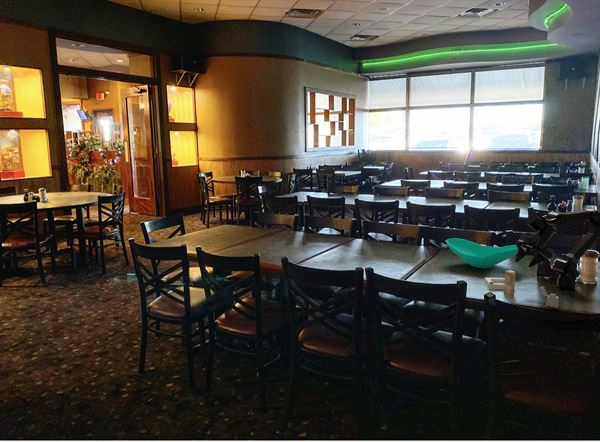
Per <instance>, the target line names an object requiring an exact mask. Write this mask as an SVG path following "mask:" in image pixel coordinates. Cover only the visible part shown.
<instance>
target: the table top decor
mask: <svg viewBox="0 0 600 442" xmlns="http://www.w3.org/2000/svg"><path fill="white" fill-rule="evenodd" d="M445 242H446V245H447V247H448V248H449V249H450V250H451V251H452V252H453V253H454V254H455V255H456V256H458V257H459V258H460V259H461V260H462V261H464V262H465V263H466V264H468V265H469V266H471V267H474V268H477V269H478V268H479V269H490V268H492V267H494V266H496V265H498V264H500V263H503V262H505V261H507V260H508V259H510V258H512V257H514V256H517V252H518V249H517V247H516V244H514V245H512V244H511V245H505V246H500V247H498V246H492V245H482V244H479V243H476V242H473V241H472V240H468V239H463V238H457V237H453V238H452V237H451V238H448V239H446V240H445Z"/></svg>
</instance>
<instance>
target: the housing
mask: <svg viewBox="0 0 600 442" xmlns="http://www.w3.org/2000/svg"><path fill="white" fill-rule="evenodd" d="M504 280H505V277H484V283H485V285H486V284H487V285H486V287H487V288H488V287H489V288H488V290H493V289H503V290H502V291H504Z"/></svg>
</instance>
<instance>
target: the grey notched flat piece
mask: <svg viewBox="0 0 600 442" xmlns="http://www.w3.org/2000/svg"><path fill="white" fill-rule="evenodd" d="M539 289H540V292H541V294H542V297H545V298H546V305H545V306H546V307H549V306H550V308H554V307H555V309H558V308H559V299H560V297H559V296H557V295H556V294H555V293H550V294H548V292H547V290H546V287H545V286H544V285H542V286H540V287H539Z"/></svg>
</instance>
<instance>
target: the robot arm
mask: <svg viewBox="0 0 600 442" xmlns="http://www.w3.org/2000/svg"><path fill="white" fill-rule="evenodd" d="M583 220H584V221H585V220H587V221H588V222H589V223H590V224H589V229H588V232H587V233H585V235H584V236H583V237H582V238H581V239H580V240H579V241H578V242H577V244H576V245H575V246H574V247H573V248H572V249H571V250H570V251H569V252H568V253H567V254H564V253H560V254H559V256H558V257H557V258H556V259H555V261H554V263H553V265H554V266H553V267H554V269H555V272H556V274H557V275H559V276H557V282H556V283H557V287H558V289H559V290H567V291H576V278H579V277H580V275H581V272H580V271H579V270H578V269H577V267H578V263H579V261H580V259H581V258H582V256H583V255H585V253H586V252H587V251H588V250H590V248H591V247H592V246H593V245H594V244H595V243H596V242H597V241H598V239H599V238H600V211H598V210H597V209H594V208H593V209H592V208H587V209H582V210H576V211H570V212H569V211H567V212H560V211H559V212H558V211H556V212H555V211H549V212H548V213H547V214H546V215H541V213H540V212H538V211H534V213H531V214H530V215H529V216H527V217H526V219H525V223H526V224H527V225H528V226H529V227H530V228H532V229H533V231H535V232H536V233H532V234H530V235H529V234H525V233H521V234H520V238H519V239H518V240H517V241H515V243H514V245H516V247H517V249H518V252H517V254H516V255H515V260H514V262H515V263H519V262H520V261H521V260H523V258H524V257H526V256H527V255H528V254H529V252H530V251H532V252H534V256H532V259H531V261H530V262H529V264H528V267H529V268H532V267H535V266H536V265H538V264H540V263H542V262H544V261H548V260H551V259H552V257H553V256H554V255H553V252H552V251H551V250H550V249H548V248H547V247H545V246H546V245H549V244H550V242H549V240H550V239H551V238H552V236H553V234H555V235H559V234H560V232H559V227H562V226H565V225H567V224H568V223H570V222H578V221H583ZM554 226H555V227H554Z"/></svg>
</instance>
